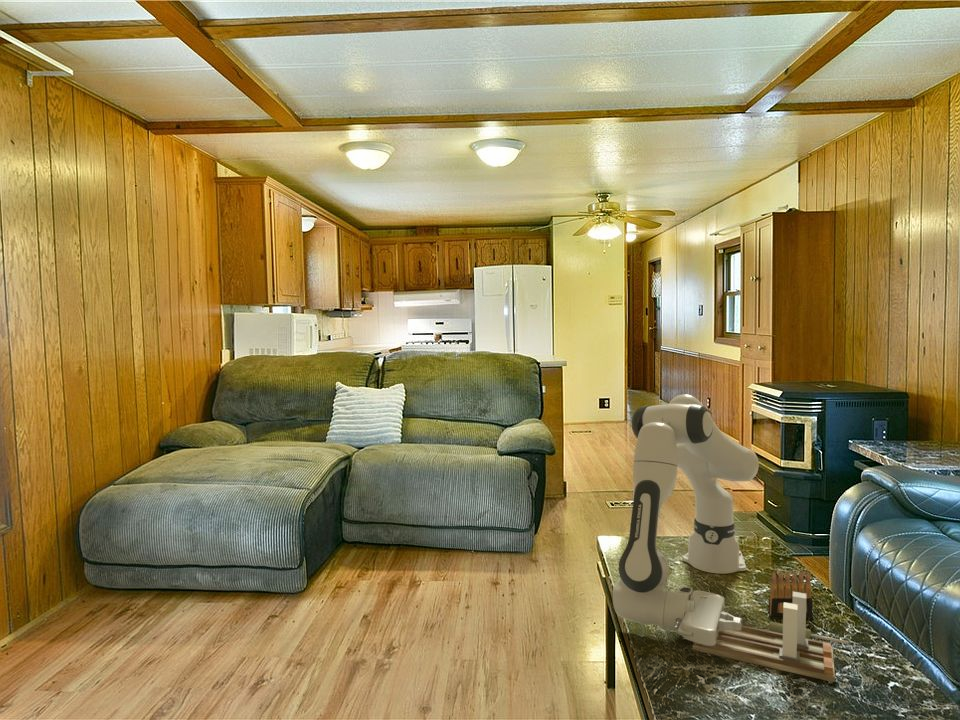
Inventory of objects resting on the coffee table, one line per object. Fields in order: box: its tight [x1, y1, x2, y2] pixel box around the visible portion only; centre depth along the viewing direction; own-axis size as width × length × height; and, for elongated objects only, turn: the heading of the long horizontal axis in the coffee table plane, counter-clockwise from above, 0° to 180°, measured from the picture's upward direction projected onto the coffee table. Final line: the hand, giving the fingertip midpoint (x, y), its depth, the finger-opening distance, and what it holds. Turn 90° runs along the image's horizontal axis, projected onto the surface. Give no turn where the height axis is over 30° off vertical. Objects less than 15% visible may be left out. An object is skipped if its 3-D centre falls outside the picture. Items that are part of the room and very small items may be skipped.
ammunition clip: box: [767, 570, 813, 619], centre depth 160 cm, size 11×2×12 cm, turn 89°
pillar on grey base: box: [793, 591, 808, 649], centre depth 143 cm, size 4×4×12 cm
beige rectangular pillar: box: [779, 602, 800, 662], centre depth 138 cm, size 4×4×12 cm
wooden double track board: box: [692, 624, 836, 683], centre depth 144 cm, size 13×29×2 cm, turn 62°
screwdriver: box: [768, 621, 850, 645], centre depth 149 cm, size 17×3×3 cm, turn 62°
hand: (741, 624), depth 142 cm, fingers closed
